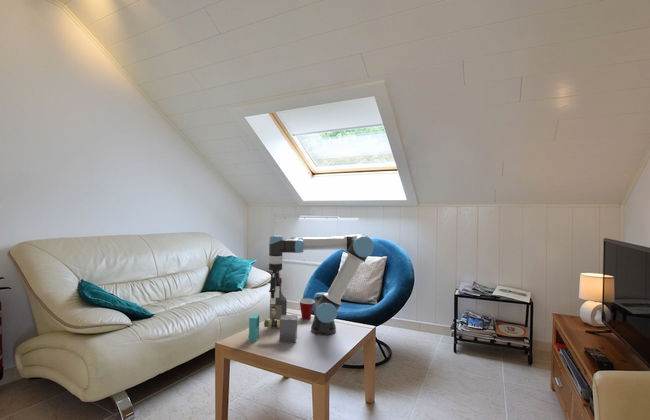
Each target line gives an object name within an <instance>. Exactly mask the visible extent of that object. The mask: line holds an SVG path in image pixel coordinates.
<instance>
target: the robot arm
mask: <svg viewBox="0 0 650 420" xmlns="http://www.w3.org/2000/svg"><path fill="white" fill-rule="evenodd" d="M268 243H269V244H268V246H269V247H268V251H269V253H268V257H267V259H268V262H269V263H268V270H269V271H271V272H272V273H270V275H271V277H270V285H269V290H268V292H269V293H270V298H269V305H270V304H275V298H279V286H281V287H282V283H281V284H280V278H281V276H280V271H282V270H283V257H284V255H283V254H284V253H286V254H287V253H293V254H301V253H303V252H304V251H312V250H313V251H317V250H319V251H321V250H322V251H326V250H327V251H328V250H329V251H330V250H332V251H333V250H344V251H345V252H346V254H347V257H346V258H345V260H344V262H343V264H342V265H341V267H340V268H339V271H338V272H337V274H336V276H335V277H334V280H332V283H331V285H330V287H329V288H328V290H327V292H324V291H323V292H316V293H315V294H314V299H313V300H314V301H315V302H314V304H313V307H314V308H313V309H314V313H313V314H314V315H313V316H314V317H313V321H312V323H311V327H310V331H311V332H312V333H313V334H314V335H320V336H321V335H322V336H328V335H332V334H335V333H336V332H337V326H336V322H335V320H336V318H337V316H338V310H339V308H340V307H341V305H342V301H341V299H342V297H343V296H344V294H345V292H346V291H347V289H348V287H349V285H350V284H351V282H352V280H353V279H354V276H355V274H356V272H357V271H358V269H359V267H360V265H361V264H363V263H365V262H366V260H367V258H368V257H369V256H370V255H371V254H372V253H373V252H374V249H375V245H374V241H373V240H372V239H371V238H370V237H369V236H368V235H365V234H362V233H355V234H346V235H344V236H331V237H327V236H325V237H323V236H321V237H319V236H317V237H316V236H315V237H314V236H313V237H310V236H309V237H295V236H293V237H290V238H289V239H285V238H284V237H283V236H282V235H271V236H270V237H269V242H268Z"/></svg>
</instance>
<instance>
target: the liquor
mask: <svg viewBox="0 0 650 420" xmlns="http://www.w3.org/2000/svg"><path fill="white" fill-rule="evenodd" d="M282 279H283V278H282V277H280V284H281V286H279V298H275V304H270V303H269V320H272V319H278V320H280V318H281V316H282V315H287V311H288V310H287V307H288V306H287V305H288V304H287V302H288V301H287V300H288V299H287V298H286V297H285V295H284V294H283V292H282V283H283V280H282ZM276 329H280V327H277V328H276Z"/></svg>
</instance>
